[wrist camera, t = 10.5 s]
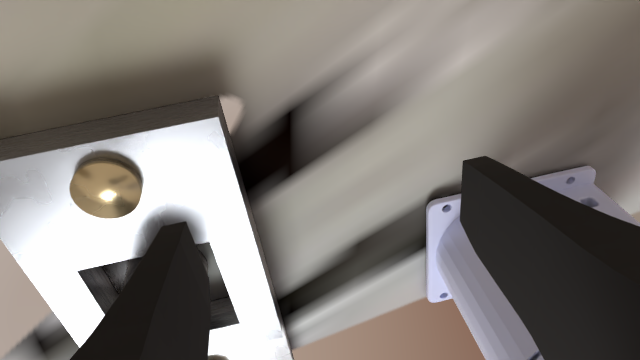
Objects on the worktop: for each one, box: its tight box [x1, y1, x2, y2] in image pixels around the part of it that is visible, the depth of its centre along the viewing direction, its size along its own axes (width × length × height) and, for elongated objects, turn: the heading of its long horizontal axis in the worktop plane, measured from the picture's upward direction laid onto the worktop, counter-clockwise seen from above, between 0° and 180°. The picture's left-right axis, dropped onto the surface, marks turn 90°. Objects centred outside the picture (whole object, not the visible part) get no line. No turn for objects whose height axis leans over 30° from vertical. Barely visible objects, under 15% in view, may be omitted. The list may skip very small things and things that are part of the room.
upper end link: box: [0, 96, 284, 355], centre depth 22 cm, size 10×14×2 cm
